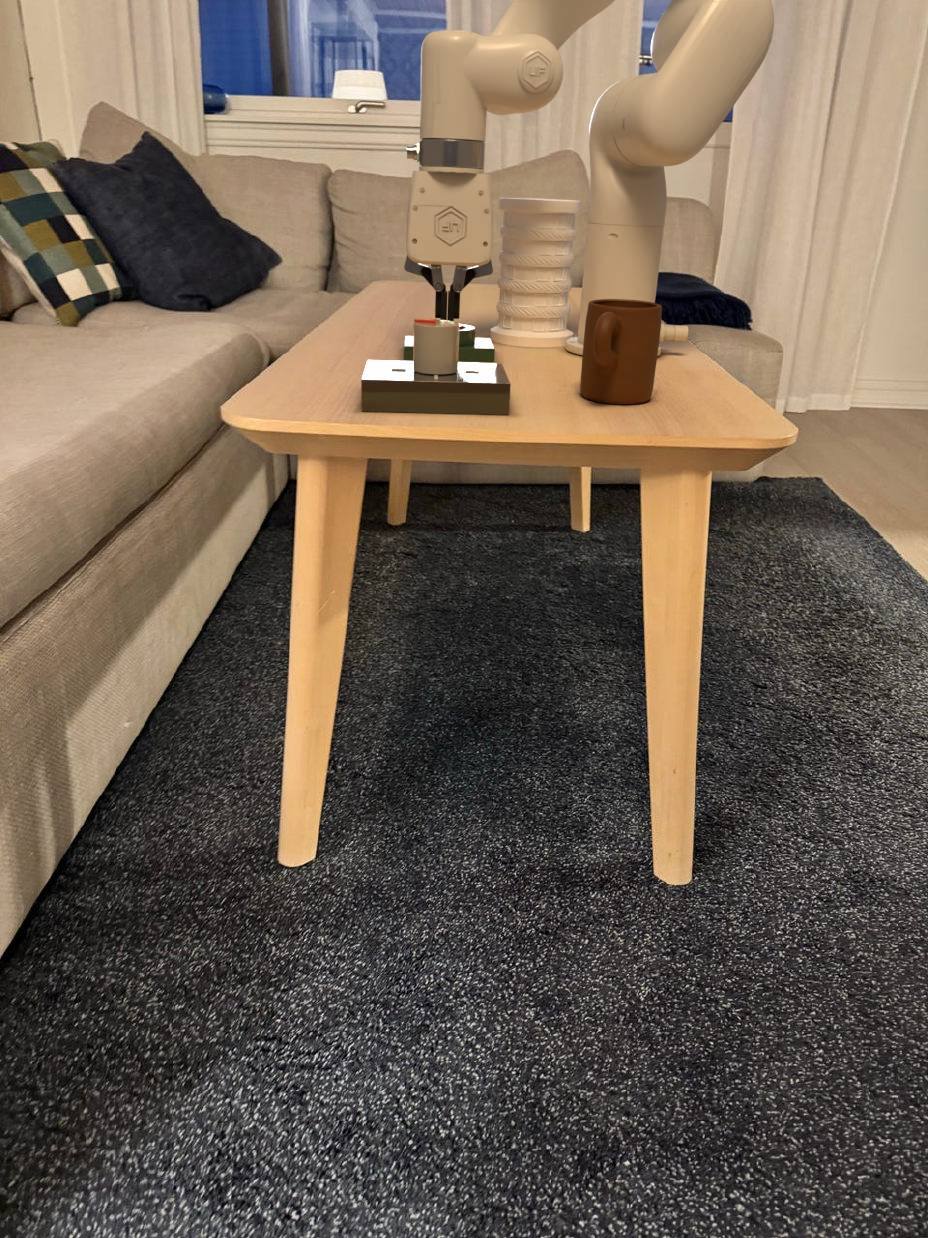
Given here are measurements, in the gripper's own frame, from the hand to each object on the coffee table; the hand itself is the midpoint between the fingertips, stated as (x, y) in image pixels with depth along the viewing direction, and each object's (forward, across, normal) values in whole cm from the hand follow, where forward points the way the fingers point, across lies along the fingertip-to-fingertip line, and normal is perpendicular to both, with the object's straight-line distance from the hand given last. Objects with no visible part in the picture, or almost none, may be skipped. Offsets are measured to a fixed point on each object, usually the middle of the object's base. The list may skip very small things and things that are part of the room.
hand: (446, 324), depth 112 cm
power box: (+4, 0, 0) cm, 4 cm away
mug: (+4, +16, -24) cm, 29 cm away
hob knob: (+1, -2, -26) cm, 26 cm away
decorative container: (+4, +12, +14) cm, 19 cm away
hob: (+4, -2, -26) cm, 26 cm away
